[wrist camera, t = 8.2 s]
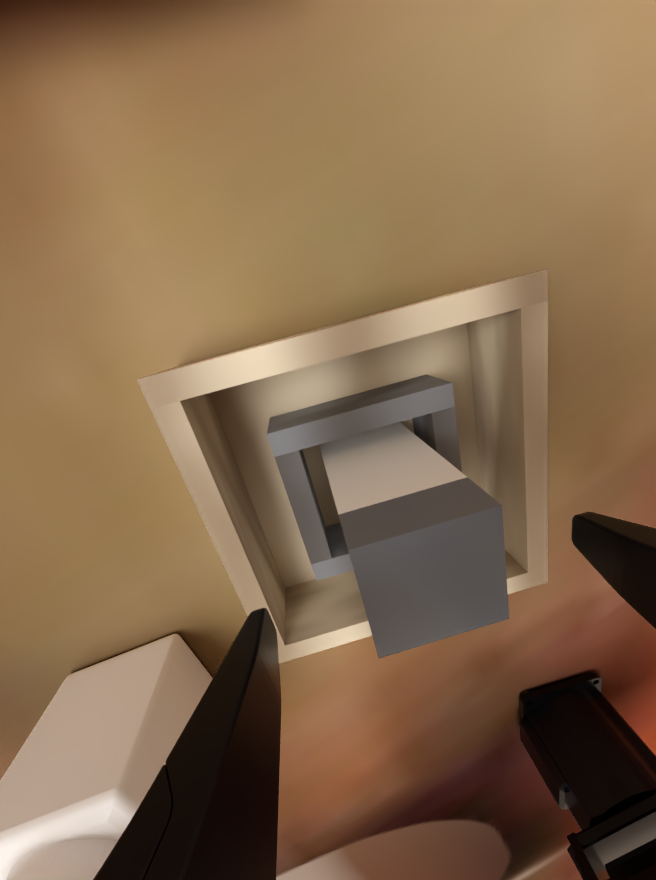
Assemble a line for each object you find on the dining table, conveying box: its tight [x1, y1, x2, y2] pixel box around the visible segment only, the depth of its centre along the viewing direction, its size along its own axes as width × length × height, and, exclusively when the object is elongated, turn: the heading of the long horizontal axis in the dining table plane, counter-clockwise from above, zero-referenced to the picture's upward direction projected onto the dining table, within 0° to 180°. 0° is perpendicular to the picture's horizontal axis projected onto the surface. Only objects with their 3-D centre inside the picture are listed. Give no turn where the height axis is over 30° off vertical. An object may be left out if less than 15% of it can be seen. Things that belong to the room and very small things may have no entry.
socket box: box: [137, 269, 548, 664], centre depth 14 cm, size 14×14×4 cm
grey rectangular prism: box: [319, 422, 509, 658], centre depth 12 cm, size 4×4×8 cm
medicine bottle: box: [0, 634, 213, 880], centre depth 14 cm, size 7×7×12 cm
